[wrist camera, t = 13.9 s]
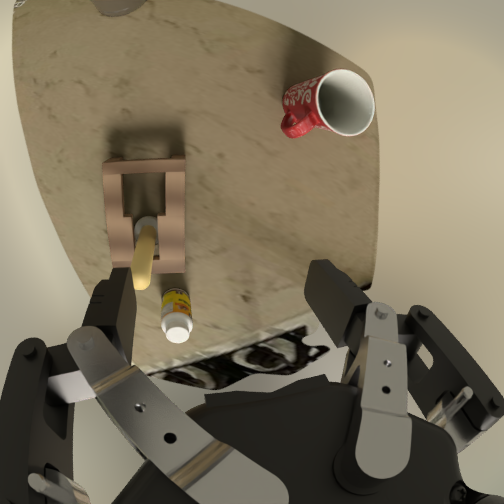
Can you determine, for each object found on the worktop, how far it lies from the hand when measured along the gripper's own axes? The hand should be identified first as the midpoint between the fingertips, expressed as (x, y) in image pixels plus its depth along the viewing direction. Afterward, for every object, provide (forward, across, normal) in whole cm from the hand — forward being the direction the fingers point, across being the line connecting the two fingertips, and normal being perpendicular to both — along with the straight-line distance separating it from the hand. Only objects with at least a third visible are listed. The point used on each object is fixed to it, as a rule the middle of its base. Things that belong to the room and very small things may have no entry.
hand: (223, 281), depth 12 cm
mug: (+33, -16, -10) cm, 38 cm away
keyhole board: (+33, +7, +8) cm, 35 cm away
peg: (+33, +7, +12) cm, 36 cm away
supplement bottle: (+33, +3, +26) cm, 42 cm away
